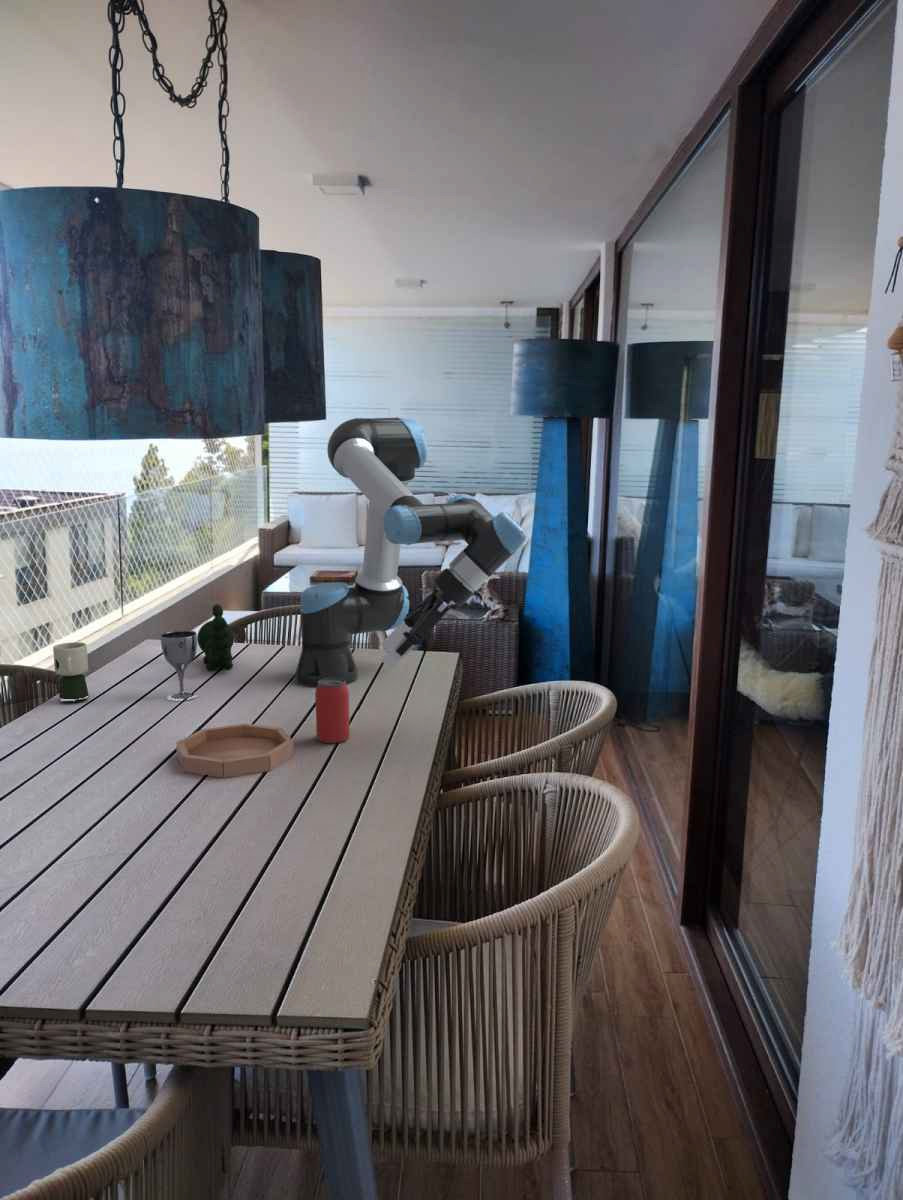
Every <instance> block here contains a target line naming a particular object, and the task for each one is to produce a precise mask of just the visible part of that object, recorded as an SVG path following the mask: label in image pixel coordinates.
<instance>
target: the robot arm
mask: <svg viewBox="0 0 903 1200" xmlns="http://www.w3.org/2000/svg"><path fill="white" fill-rule="evenodd" d="M326 451H327V458H328V460H329V463H330V464H331V466H332V468H333V470H335V472H337V474H339V476H341V477H342V478H345V479H349V480H350V481H351V482H352V483H353V485H354V486H355V487H356V488H357V489H358V490H359V491H360V492H361V493H362V495H364V496H365V498H366V499H367V500H368V510H367V511H368V512H367V518H366V519H367V520H366V532H365V543H364V553H363V562H362V571H361V572H360V573H358V574H357V575H356V577H355V583H354V586H352V587H349V586H348V584H347V583H345V582H341V581H334V582H323V583H318V584H314V585H312V586H309V587H307V588H305V589H304V590H303V591H302V593H301V595H300V605H299V606H300V607H299V612H300V624H301V627H300V628H301V651H300V655H299V659H298V662H297V664H296V665H297V666H296V669H295V681H296V682H297V683H298V684H300V683H301V685H304V686H308V685H309V686H310V687H317V685H318V681H319V680H321V679H325V678H341V679H344V680H345V681H346V685H347V684H350V683H353V682H355V681H356V680H357V679H358V677H359V676H358V667H357V664H356V661H355V658H354V656H353V653H352V650H351V646H350V636H351V635H359V634H367V633H375V632H387V631H389V630H392V631H391V633H390V634H389V635H388V636H386V637H385V639H383V641H382V642H381V643H380V645H381V646H382V647H383V648H384V649H385V650H386V651H387V653H386V654H385V655H383V657H382V658H380V661H381V662H382V663H383V664H384V665H385V666H386V667H387V668H389V670H392V669H394V667H396V666H397V665H398V664H399V662H400V661H401V660H403V659H404V658H405V656H406V655H407V654H408V653H409V652H410V651H411V650H412V649H413V648H414V647H415V646H419V645H420V644H422V642H423V641H424V639H425V638H426V637H427V636H428V635H429V633H430V632H431V631H432V630H433V629H434V627H435V626H436V625H437V624H438V622H439V621H440V620H441V619H442V617H444V615H445V614H446V613H447V612H449V611H450V609H451V606H450V603H451V602H453V603H454V604H456V605H457V606H459V607H461V606H464V605H465V603H466V602H468V600H469V599H470V598H471V597H473V594H474V593H473V592H472V591H474V592H475V591H476V592H477V591H478V590H479V589H480V588H481V587H482V585H483V586H487V585H488V581H487V580H489V578H491V577H492V576H493V575H494V574H495V572H496V571H498V570H499V569H500V567H502V566H503V564H504V563H505V562H506V561H508V559H510V558H511V557H512V556H513V555H515V554H516V552H517V550H518V549H520V547H521V546H522V545H523V543H524V542H525V541H526V539H527V534H526V532H525V531H524V530H523V529H522V528H521V527H520V526H519V525H518V524H517V523H516V521H514V520H513V518H511V516H509V515H508V514H507V513H506V512H503V511H502V512H499V513H498V514H497V515H492V513H490V512H489V511H488V510H487V509H486V507H484V505H483V504H482V503H481V502H479V501H478V500H477V499H475V498H474V497H472V496H471V495H469V494H466V493H460V494H456V495H455V496H454V497H451V498H450V499H448V500H447V502H446V503H434V504H433V503H432V504H430V503H429V504H427V503H426V504H423V503H422V502H421V501H420V500H419V499H418V498H417V497H416V496H415V495H414V494H413V493H412V492H411V491H410V490H409V489H408V488H407V487H408V485H409V483H410V482H412V481H414V479H415V476H416V475H415V474H416V470H417V469H421V468H423V466H424V465H425V463H426V461H427V457H428V444H427V438H426V435H425V433H424V430H423V428H422V427H421V425H420V424H419V423H418V422H417V421H416V420H414V419H413V418H405V417H404V418H403V417H399V416H398V417H397V416H396V417H375V418H374V417H369V418H368V417H367V418H364V417H356V418H355V417H354V418H351V419H348V420H346V421H344V422H342V423H341V424H339V425H338V426H337V427H336V428H335V429H334V430H333V432H332V434H331V435H330V437H329V439H328V443H327V449H326ZM452 541H454V542H455V541H464V542H465V543H466V544H467V546H466V547H465V548H464V549H463V550H461V551H460V552H459V553H458V554H457V555H456V556H455V557H454V558H453V559H452V560H451V561H450V562H449V564H448V566H449V568H444V569H443V570H442V571H441V572H440V573H438V575H437V576H436V577H435V579H434V583H435V585H436V586H437V587H436V588H435V589H433V591H432V592H431V593H430V594H428V595H427V596H426V598H424V599H423V600H422V601H421V602H420V603H419V604H417V605H416V606H415V607H413V609H411V610H410V599H409V592H408V589H407V588H406V586H405V585H404V584H403V581H402V579H401V578H400V576H398V571H399V569H398V568H399V561H400V551H401V545H406V546H410V545H415V544H425V543H438V542H452ZM409 610H410V611H409Z"/></svg>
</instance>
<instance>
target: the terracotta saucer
mask: <svg viewBox="0 0 903 1200" xmlns="http://www.w3.org/2000/svg"><path fill="white" fill-rule="evenodd" d="M175 745H176V759H177V758H178V759H177V760H179V761H178V762H180V763H179V764H181V765H180V767H181V766H182V767H181V769H182V768H183V769H182V772H184V771H185V772H190V773H189V774H192V773H196V774H195V775H198V774H203V775H202V776H205V775H208V776H207V777H212V776H214V777H213V778H218V777H219V778H220V779H227V777H229V778H235V777H240V776H247V775H254V774H260V773H266V772H270V771H271V772H272V771H273V770H274V769H276V768H277V767H279V766H280V765H282V764H283V763H285V762H287V761H289V760H291V758H293V757H294V740H293V739H292V738H291V737H290V736H289V734H288V733H287V732H286V731H285V729H283V727H277V726H270V725H261V724H253V723H252V724H251V723H238V724H232V725H223V726H216V727H210V728H209V727H208V728H202V729H200V730H198V731H196V732H194V733H192V734H191V735H188V736H186V737H184V738H183V739H180V740H179V741H177V742H176V743H175ZM185 772H184V773H185ZM234 776H235V777H234Z"/></svg>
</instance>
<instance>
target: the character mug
mask: <svg viewBox="0 0 903 1200" xmlns="http://www.w3.org/2000/svg"><path fill="white" fill-rule="evenodd" d="M52 651H53V652H52V653H53V664H54V673H55V674H56V675H59V676H61V677H60V680H59V696H58V697H60V698H61V699H62V698H63V699H79V698H84V697H86V696H88V695H89V690H88V685H87V681H86V676H85V675H84V674H85V673H86V674H87V672H89V660H88V659H89V658H88V657H89V656H88V647H87V643H85V642H78V641H77V642H73V641H71V642H63V643H58V644H56V645H53V647H52Z"/></svg>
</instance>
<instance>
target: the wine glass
mask: <svg viewBox="0 0 903 1200" xmlns="http://www.w3.org/2000/svg"><path fill="white" fill-rule="evenodd" d="M197 636H198V633H197V632H196V631H195V630H188V629H185V630H183V629H181V630H179V629H178V630H170V631H166V632H162V633H160V644H161V650H162V654H163V657H164V659H165V661H166V662H167V663H168V664H170V666H171V667H172V668H174V670H175V672H176V673H177V676H178V681H179V692H178V693H177V692H176V693H177V694H176V693H172V694H173V695H172V694H171V695H172V696H171V697H172V698H175V699H176V698H177V699H179V698H180V699H181V698H183V699H186V698H189V697H192V696H194V694H192V693H193V692H185V691H184V690H185V688H184V677H185V672H186V670H187V668H188V666H190V664H191V663H192V662H193V660H194V658H195V656H196V652H197V647H198V646H197V645H198V640H197Z"/></svg>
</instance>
